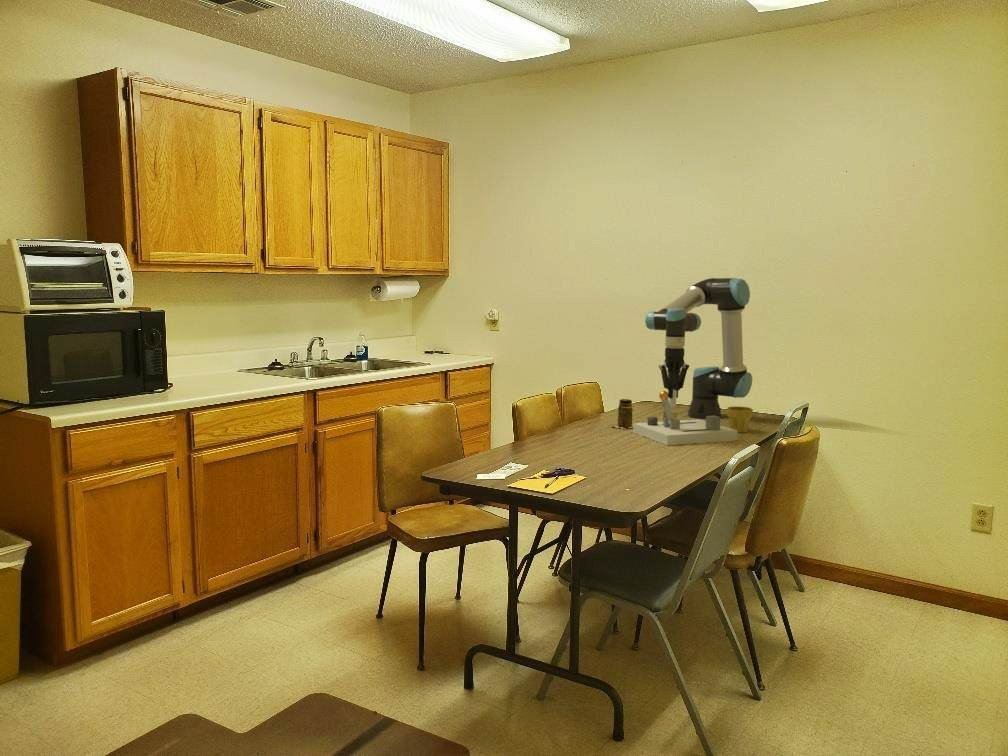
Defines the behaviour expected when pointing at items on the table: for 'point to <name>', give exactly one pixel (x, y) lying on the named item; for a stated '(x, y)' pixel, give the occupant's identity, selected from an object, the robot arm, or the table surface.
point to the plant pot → (739, 417)
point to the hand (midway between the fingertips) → (672, 406)
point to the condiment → (625, 413)
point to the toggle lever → (666, 406)
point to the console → (682, 431)
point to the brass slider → (672, 413)
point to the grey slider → (713, 422)
